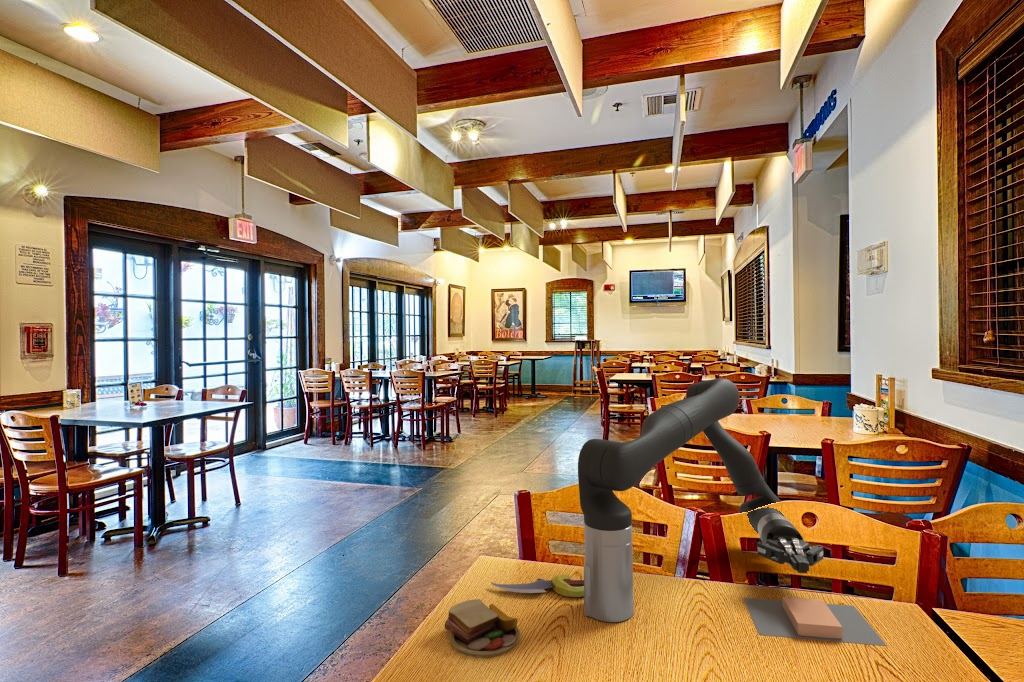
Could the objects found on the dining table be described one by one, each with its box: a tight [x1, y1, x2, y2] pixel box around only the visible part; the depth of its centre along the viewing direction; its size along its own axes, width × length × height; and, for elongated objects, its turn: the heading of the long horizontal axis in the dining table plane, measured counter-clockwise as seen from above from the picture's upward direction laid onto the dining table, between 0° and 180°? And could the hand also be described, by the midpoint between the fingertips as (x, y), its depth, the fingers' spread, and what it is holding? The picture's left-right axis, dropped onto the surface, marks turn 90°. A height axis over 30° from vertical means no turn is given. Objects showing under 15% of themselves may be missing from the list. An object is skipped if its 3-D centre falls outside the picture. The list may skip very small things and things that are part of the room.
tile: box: [781, 596, 843, 639], centre depth 100 cm, size 7×2×10 cm
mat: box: [742, 597, 888, 647], centre depth 101 cm, size 20×14×1 cm
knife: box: [490, 574, 584, 598], centre depth 117 cm, size 8×3×25 cm
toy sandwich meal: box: [444, 598, 521, 658], centre depth 99 cm, size 12×14×5 cm
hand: (803, 568), depth 105 cm, fingers closed
